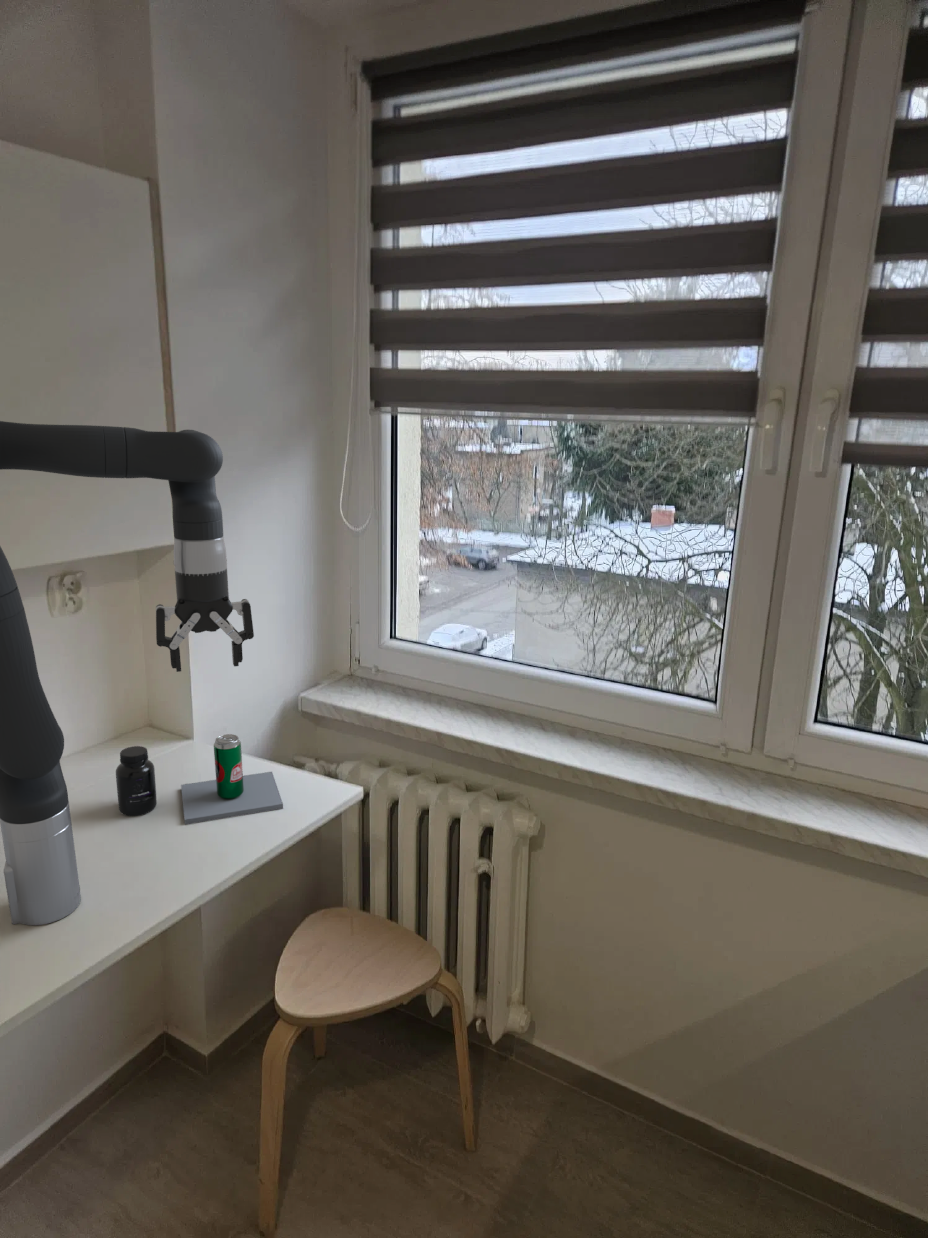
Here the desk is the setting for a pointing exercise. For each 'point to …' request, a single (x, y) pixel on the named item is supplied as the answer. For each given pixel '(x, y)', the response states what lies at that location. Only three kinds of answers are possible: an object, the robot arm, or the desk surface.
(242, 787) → the soda can
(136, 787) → the supplement bottle
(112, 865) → the desk surface
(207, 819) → the slate gray mat
